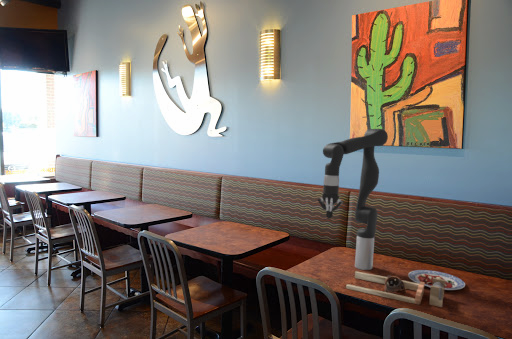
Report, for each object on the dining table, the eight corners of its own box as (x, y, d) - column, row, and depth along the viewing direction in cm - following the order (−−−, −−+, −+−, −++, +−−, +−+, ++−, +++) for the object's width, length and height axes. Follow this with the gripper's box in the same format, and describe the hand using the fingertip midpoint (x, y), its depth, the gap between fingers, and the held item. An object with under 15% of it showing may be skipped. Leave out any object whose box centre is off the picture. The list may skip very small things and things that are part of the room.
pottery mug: (411, 296, 181) (407, 283, 177) (392, 305, 180) (388, 291, 177) (397, 280, 192) (393, 267, 188) (379, 288, 191) (375, 275, 188)
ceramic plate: (408, 287, 190) (408, 281, 190) (407, 271, 214) (408, 265, 214) (468, 297, 181) (469, 291, 181) (461, 279, 205) (461, 273, 205)
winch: (431, 294, 182) (433, 275, 181) (443, 297, 180) (445, 277, 179) (428, 306, 169) (430, 286, 168) (441, 309, 166) (443, 288, 165)
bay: (355, 276, 201) (356, 269, 201) (423, 290, 186) (424, 282, 186) (346, 288, 185) (346, 280, 185) (419, 304, 170) (420, 295, 170)
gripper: (346, 184, 199) (344, 218, 201) (321, 182, 205) (319, 215, 207) (342, 186, 192) (340, 221, 194) (316, 183, 199) (314, 217, 200)
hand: (329, 218), depth 200 cm, fingers closed
